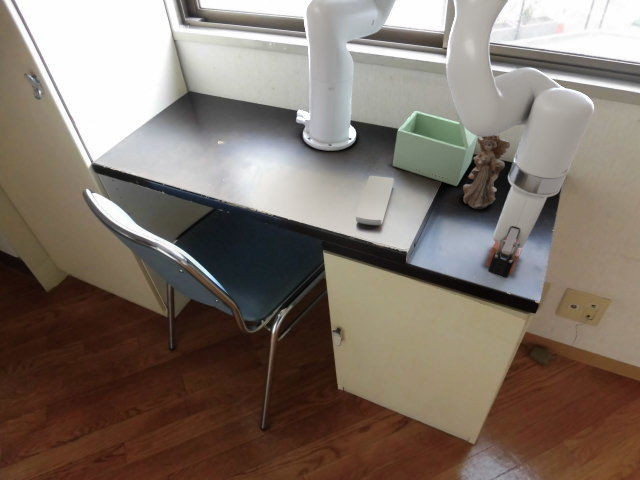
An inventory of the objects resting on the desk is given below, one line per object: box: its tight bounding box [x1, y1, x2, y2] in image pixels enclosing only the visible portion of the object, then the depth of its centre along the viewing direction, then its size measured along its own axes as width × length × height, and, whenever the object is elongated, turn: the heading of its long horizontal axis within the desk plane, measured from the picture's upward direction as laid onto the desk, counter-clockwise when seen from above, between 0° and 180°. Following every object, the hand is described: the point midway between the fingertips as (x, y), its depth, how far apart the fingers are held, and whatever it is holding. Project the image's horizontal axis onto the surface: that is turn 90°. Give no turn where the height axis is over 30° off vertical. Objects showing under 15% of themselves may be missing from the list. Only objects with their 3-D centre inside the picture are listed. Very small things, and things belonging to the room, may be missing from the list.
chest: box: [392, 110, 479, 187], centre depth 102 cm, size 15×10×9 cm
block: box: [485, 236, 523, 276], centre depth 81 cm, size 4×4×4 cm
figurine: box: [462, 133, 511, 210], centre depth 91 cm, size 7×6×15 cm
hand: (504, 256), depth 82 cm, fingers open, 9 cm apart
